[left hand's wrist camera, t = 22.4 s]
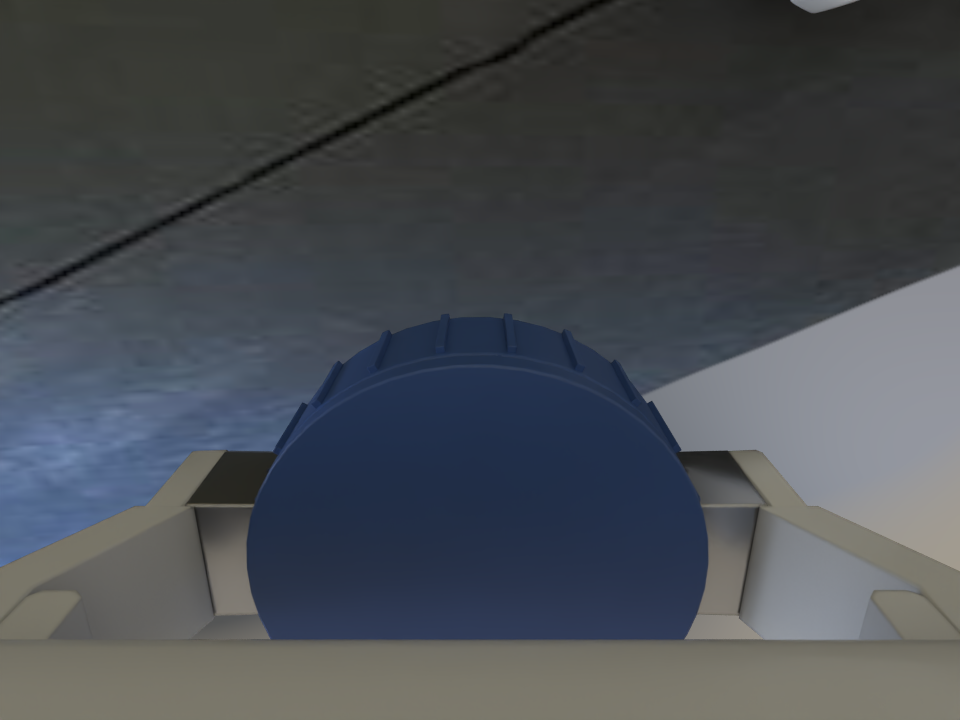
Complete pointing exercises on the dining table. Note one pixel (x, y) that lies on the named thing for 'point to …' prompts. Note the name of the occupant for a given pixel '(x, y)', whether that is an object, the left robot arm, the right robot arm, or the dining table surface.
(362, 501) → the lid
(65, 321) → the dining table surface
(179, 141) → the dining table surface
